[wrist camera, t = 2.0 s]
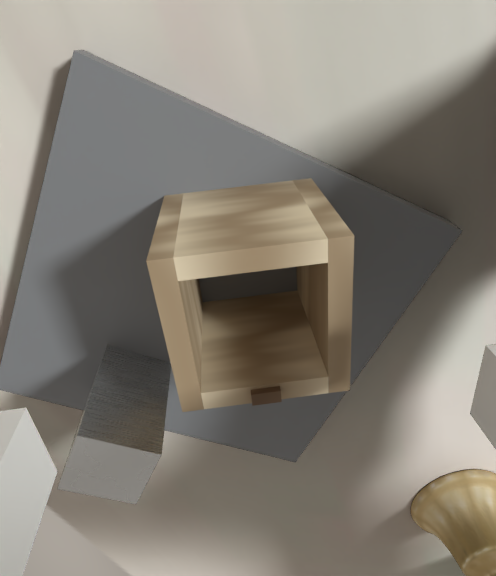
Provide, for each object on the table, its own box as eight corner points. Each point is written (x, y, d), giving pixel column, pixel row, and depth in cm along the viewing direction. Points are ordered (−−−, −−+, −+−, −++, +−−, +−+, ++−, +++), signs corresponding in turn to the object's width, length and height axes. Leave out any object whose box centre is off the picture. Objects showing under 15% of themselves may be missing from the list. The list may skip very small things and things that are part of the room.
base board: (448, 220, 24) (462, 230, 23) (291, 445, 32) (295, 462, 31) (83, 49, 19) (73, 50, 17) (5, 371, 27) (-6, 388, 25)
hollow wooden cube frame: (311, 178, 21) (357, 239, 14) (314, 302, 24) (351, 395, 18) (164, 195, 20) (145, 265, 14) (188, 318, 24) (182, 417, 18)
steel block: (173, 347, 27) (161, 454, 20) (153, 390, 28) (136, 504, 21) (112, 328, 26) (76, 435, 19) (95, 375, 27) (57, 489, 20)
